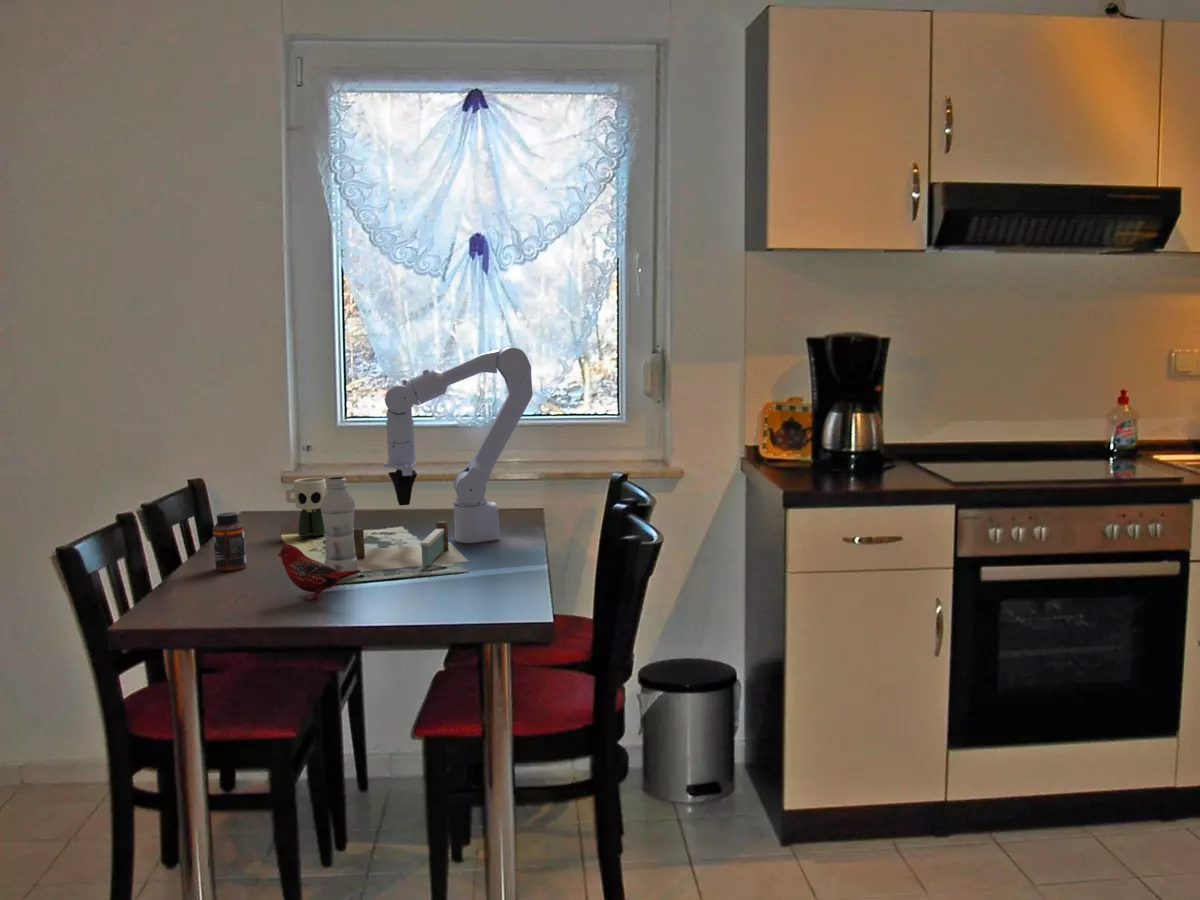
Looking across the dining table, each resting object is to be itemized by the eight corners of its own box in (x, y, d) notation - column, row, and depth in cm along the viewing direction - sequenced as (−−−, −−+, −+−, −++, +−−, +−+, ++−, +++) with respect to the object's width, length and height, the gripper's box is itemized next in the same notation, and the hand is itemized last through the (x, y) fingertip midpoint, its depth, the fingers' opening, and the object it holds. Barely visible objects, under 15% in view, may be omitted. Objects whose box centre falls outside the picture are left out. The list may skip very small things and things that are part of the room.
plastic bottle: (329, 588, 213) (323, 482, 210) (320, 580, 219) (314, 477, 216) (363, 583, 216) (358, 478, 213) (354, 576, 222) (348, 474, 219)
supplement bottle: (252, 566, 233) (249, 511, 231) (234, 573, 227) (230, 517, 226) (228, 564, 235) (224, 510, 233) (209, 571, 229) (205, 515, 228)
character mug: (286, 540, 258) (282, 483, 256) (290, 534, 265) (287, 478, 263) (335, 537, 259) (332, 481, 257) (338, 531, 266) (335, 476, 264)
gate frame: (450, 546, 246) (448, 514, 246) (468, 566, 228) (467, 531, 227) (346, 556, 240) (344, 523, 239) (356, 577, 221) (354, 541, 220)
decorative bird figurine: (285, 595, 208) (281, 541, 207) (367, 603, 201) (364, 547, 200) (274, 599, 205) (271, 545, 204) (357, 607, 199) (354, 550, 197)
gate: (437, 550, 236) (436, 528, 236) (444, 549, 236) (443, 528, 236) (421, 565, 222) (420, 543, 222) (429, 565, 222) (428, 542, 222)
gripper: (377, 439, 249) (380, 500, 251) (386, 446, 235) (390, 511, 237) (409, 437, 251) (412, 498, 253) (420, 444, 238) (424, 509, 239)
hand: (404, 504), depth 245 cm, fingers closed
